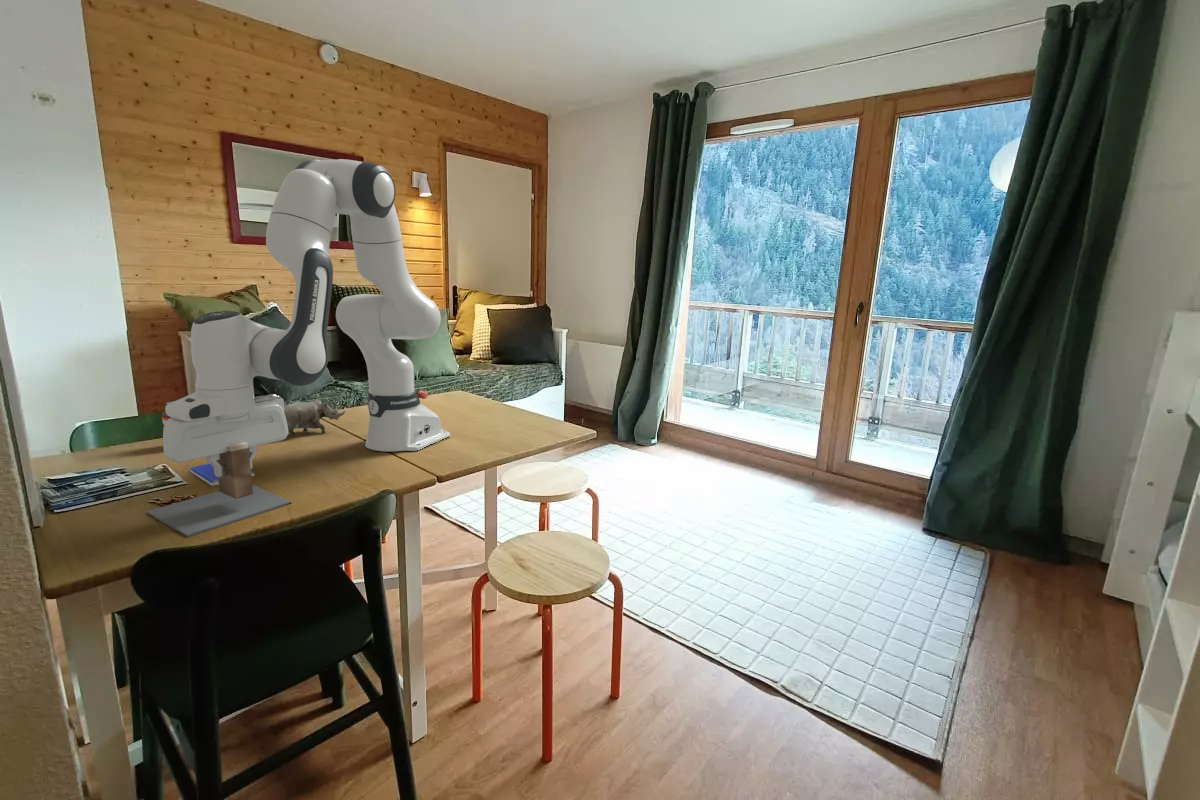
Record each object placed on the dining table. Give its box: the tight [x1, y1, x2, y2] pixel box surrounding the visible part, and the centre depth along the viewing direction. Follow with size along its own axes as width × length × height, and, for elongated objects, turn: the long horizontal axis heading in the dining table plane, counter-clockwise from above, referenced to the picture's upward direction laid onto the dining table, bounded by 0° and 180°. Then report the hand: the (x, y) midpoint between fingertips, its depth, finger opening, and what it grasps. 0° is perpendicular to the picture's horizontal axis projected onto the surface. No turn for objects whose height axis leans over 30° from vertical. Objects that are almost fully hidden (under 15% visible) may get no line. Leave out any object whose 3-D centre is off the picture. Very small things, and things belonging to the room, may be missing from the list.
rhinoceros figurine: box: [280, 399, 346, 442], centre depth 155 cm, size 8×14×15 cm
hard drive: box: [189, 463, 255, 487], centre depth 125 cm, size 2×8×12 cm
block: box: [216, 442, 253, 499], centre depth 107 cm, size 3×6×10 cm, turn 58°
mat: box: [146, 484, 292, 538], centre depth 108 cm, size 18×16×1 cm
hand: (234, 472), depth 107 cm, fingers closed on block, 3 cm apart
